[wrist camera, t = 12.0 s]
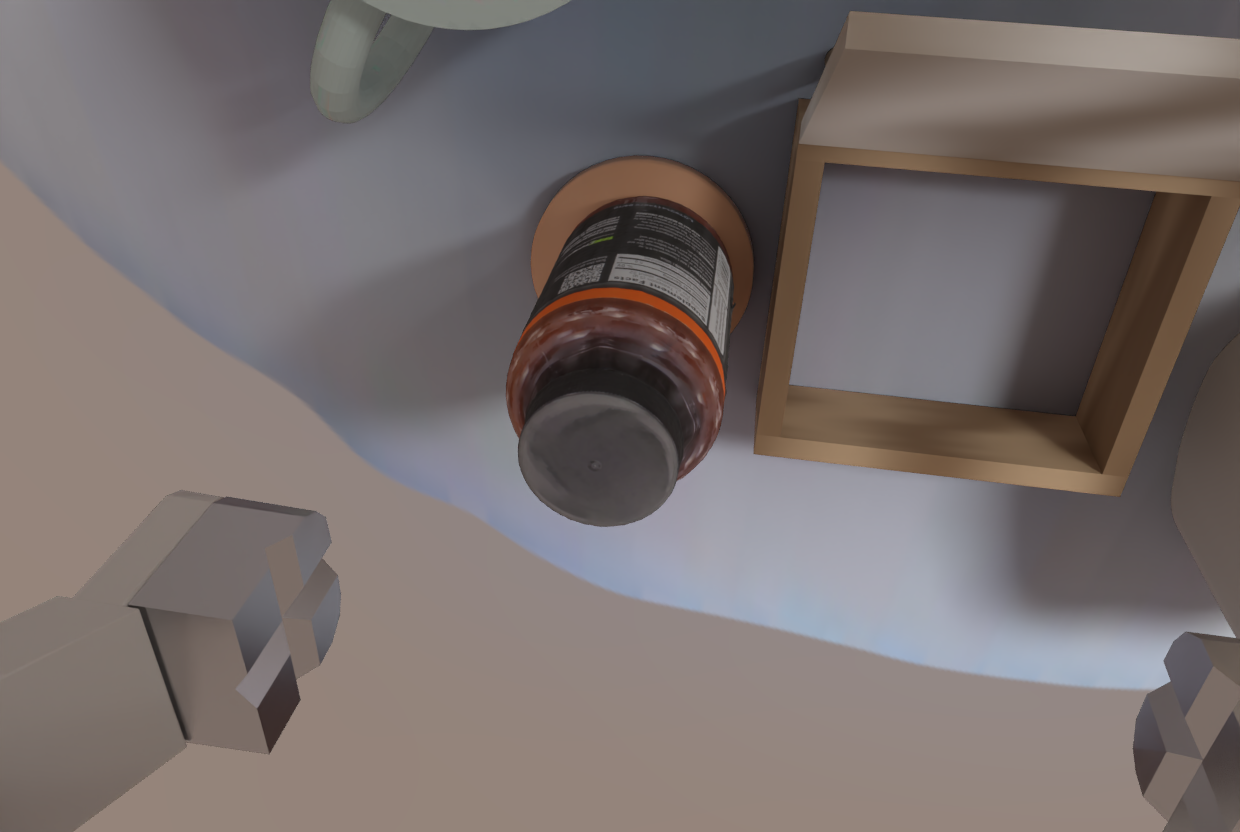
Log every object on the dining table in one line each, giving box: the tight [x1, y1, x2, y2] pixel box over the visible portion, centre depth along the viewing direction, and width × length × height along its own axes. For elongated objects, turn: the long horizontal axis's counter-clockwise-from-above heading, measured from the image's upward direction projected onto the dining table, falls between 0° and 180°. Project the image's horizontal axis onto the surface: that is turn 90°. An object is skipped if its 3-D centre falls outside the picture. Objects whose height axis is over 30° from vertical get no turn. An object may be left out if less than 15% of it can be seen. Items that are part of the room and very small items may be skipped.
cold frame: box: [754, 11, 1240, 497], centre depth 25 cm, size 12×16×14 cm
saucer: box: [531, 155, 754, 334], centre depth 33 cm, size 8×8×1 cm
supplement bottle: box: [506, 196, 736, 527], centre depth 28 cm, size 6×6×11 cm
